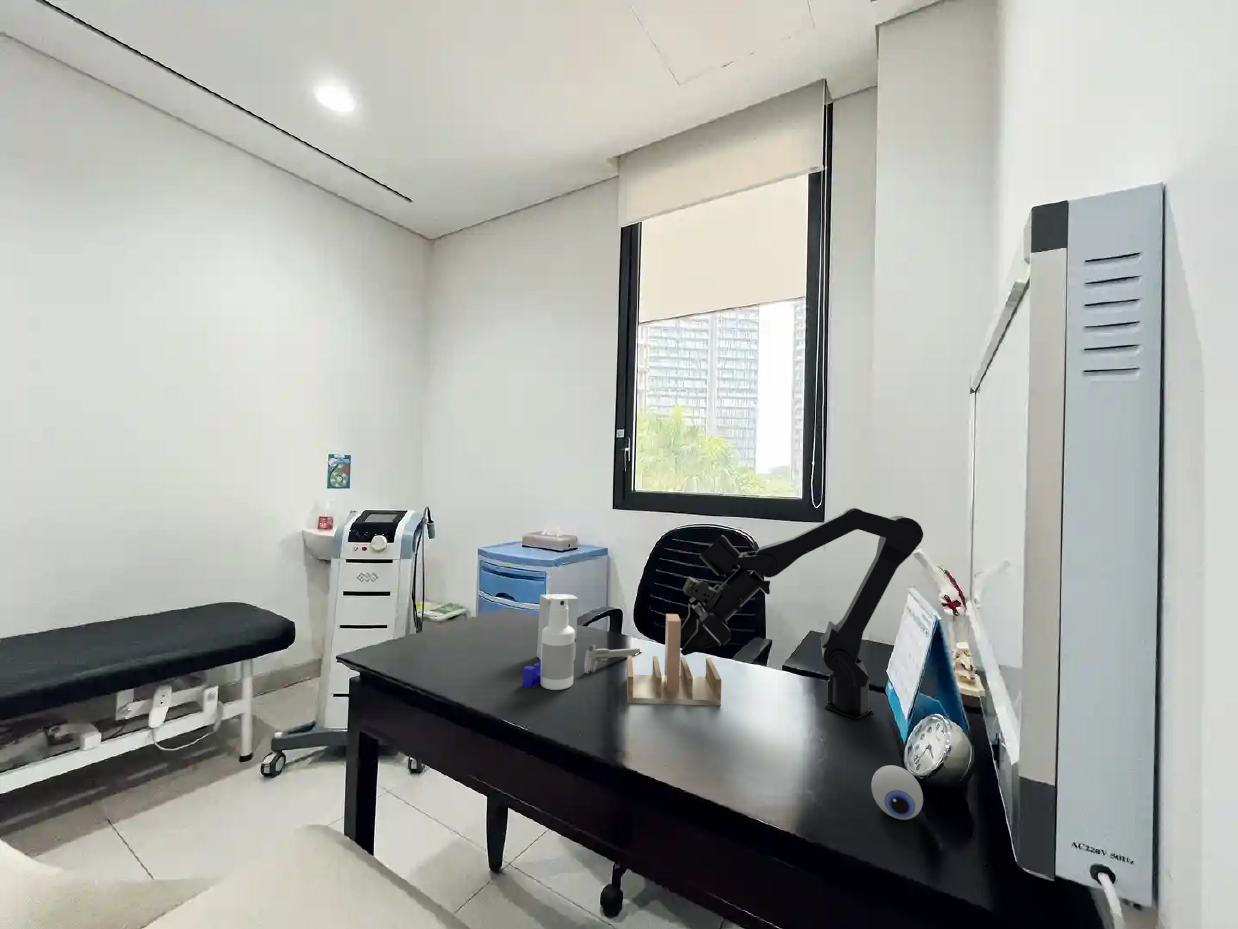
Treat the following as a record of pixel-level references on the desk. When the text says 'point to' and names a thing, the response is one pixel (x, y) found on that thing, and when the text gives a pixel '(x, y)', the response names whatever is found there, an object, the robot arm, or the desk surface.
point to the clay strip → (672, 652)
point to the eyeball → (897, 792)
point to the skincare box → (545, 614)
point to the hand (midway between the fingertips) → (679, 646)
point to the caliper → (604, 656)
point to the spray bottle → (557, 648)
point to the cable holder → (531, 675)
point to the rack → (690, 687)
